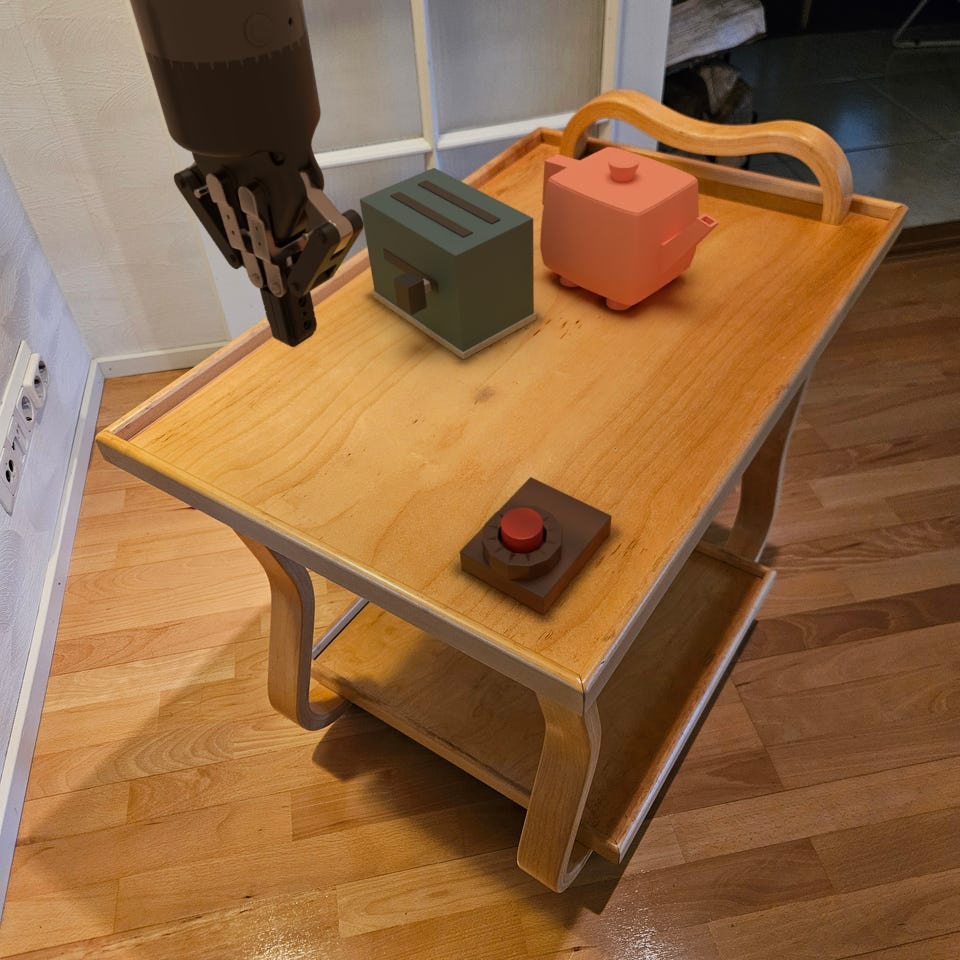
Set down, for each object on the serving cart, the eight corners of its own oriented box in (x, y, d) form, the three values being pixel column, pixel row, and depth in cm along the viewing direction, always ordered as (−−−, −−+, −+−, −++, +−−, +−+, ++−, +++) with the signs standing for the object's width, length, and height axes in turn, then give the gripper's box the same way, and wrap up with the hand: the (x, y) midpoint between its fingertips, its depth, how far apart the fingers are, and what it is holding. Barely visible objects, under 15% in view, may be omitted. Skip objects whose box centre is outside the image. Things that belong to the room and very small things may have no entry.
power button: (527, 560, 62) (527, 545, 61) (493, 542, 64) (492, 527, 63) (550, 533, 64) (551, 518, 63) (517, 516, 66) (516, 501, 64)
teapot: (732, 292, 92) (756, 170, 82) (661, 343, 86) (678, 218, 76) (582, 227, 104) (586, 112, 93) (511, 268, 98) (508, 151, 88)
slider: (411, 315, 83) (407, 288, 80) (397, 305, 84) (393, 278, 82) (436, 302, 84) (433, 275, 82) (422, 293, 85) (418, 266, 83)
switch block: (543, 616, 63) (543, 584, 60) (460, 569, 67) (457, 537, 64) (610, 533, 69) (613, 500, 66) (530, 493, 72) (530, 461, 69)
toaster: (463, 360, 86) (455, 255, 77) (372, 296, 95) (356, 197, 86) (536, 319, 90) (536, 216, 82) (443, 262, 100) (434, 164, 91)
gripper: (384, 29, 37) (417, 344, 50) (197, -14, 43) (268, 277, 56) (259, 80, 33) (328, 410, 46) (71, 25, 39) (177, 330, 51)
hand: (295, 336), depth 51 cm, fingers closed
